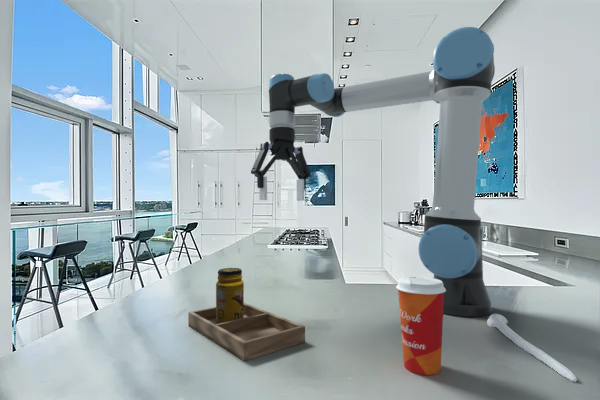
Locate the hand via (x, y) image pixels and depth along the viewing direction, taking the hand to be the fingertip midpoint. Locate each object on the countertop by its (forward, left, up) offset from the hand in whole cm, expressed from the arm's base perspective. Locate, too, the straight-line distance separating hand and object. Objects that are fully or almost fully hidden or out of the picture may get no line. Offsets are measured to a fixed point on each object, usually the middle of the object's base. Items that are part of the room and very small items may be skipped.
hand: (282, 200), depth 103 cm
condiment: (-12, +24, -28) cm, 39 cm away
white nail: (-59, -13, -29) cm, 67 cm away
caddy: (-18, +24, -29) cm, 41 cm away
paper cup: (-51, +10, -29) cm, 59 cm away
